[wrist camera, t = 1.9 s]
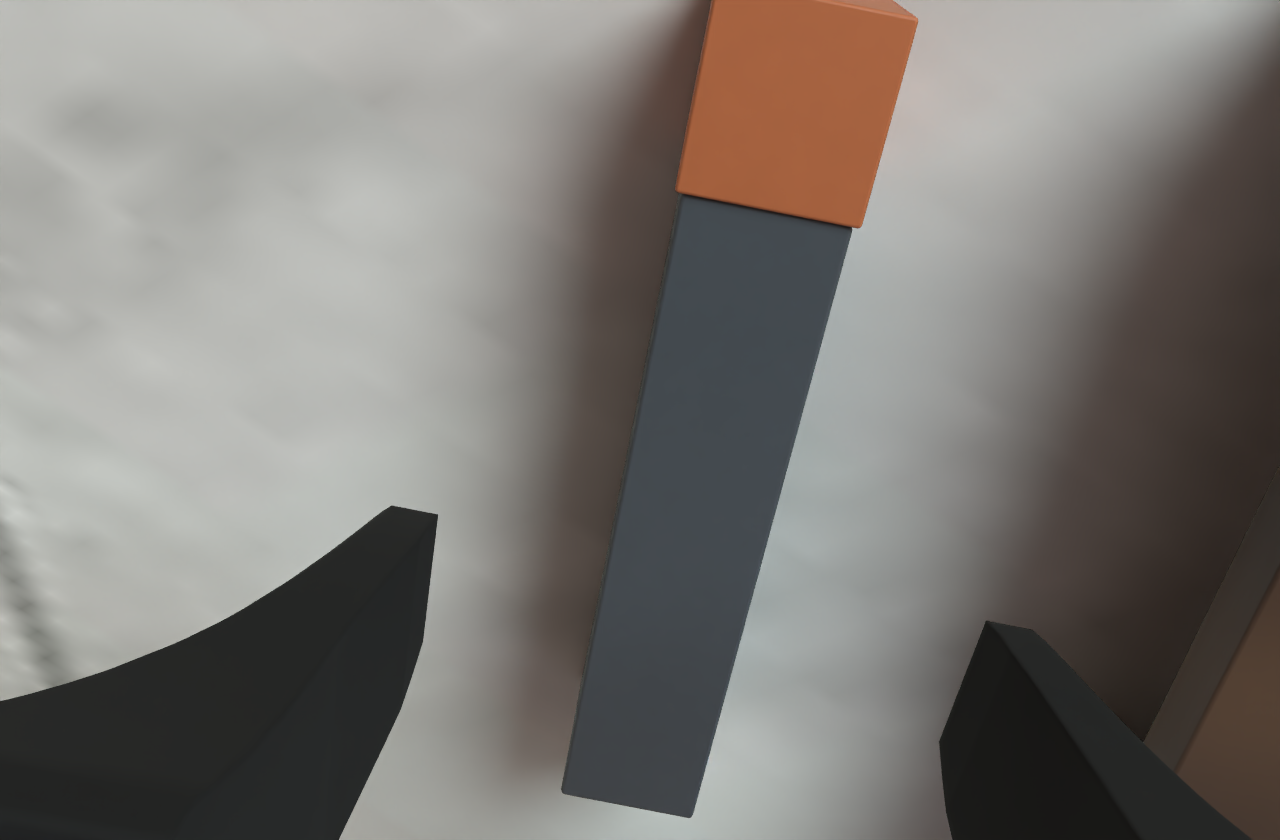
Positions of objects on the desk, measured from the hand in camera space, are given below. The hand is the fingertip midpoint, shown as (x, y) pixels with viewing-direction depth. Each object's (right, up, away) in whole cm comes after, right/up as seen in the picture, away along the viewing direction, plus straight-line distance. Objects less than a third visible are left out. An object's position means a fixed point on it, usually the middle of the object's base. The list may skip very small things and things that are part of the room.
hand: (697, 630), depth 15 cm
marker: (+1, +3, +7) cm, 8 cm away
